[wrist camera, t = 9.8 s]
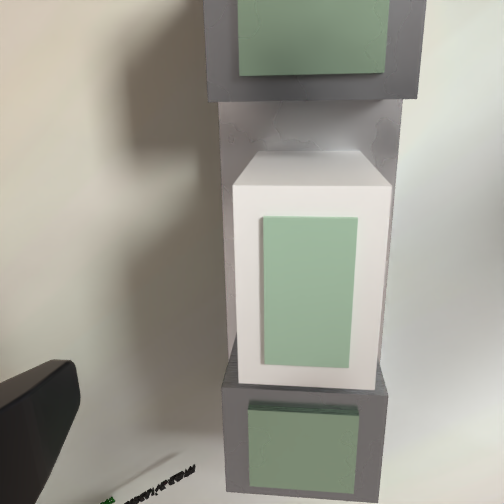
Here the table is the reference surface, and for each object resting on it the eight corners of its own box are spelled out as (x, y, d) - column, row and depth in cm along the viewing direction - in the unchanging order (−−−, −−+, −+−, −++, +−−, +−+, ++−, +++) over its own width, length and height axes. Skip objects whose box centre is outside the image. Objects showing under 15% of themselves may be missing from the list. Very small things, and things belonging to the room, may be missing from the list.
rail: (412, -114, 16) (474, -231, 10) (370, 404, 24) (392, 510, 18) (217, -101, 17) (170, -203, 11) (235, 397, 24) (212, 496, 18)
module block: (359, 150, 18) (393, 187, 11) (351, 291, 20) (375, 393, 13) (258, 151, 18) (231, 186, 12) (259, 288, 20) (237, 386, 14)
